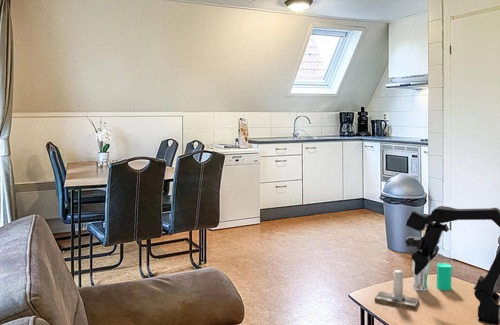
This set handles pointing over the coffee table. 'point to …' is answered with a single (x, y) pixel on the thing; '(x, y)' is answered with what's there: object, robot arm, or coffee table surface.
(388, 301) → the board
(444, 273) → the candle
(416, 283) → the beer glass
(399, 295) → the tuning slider
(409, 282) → the coffee table surface
